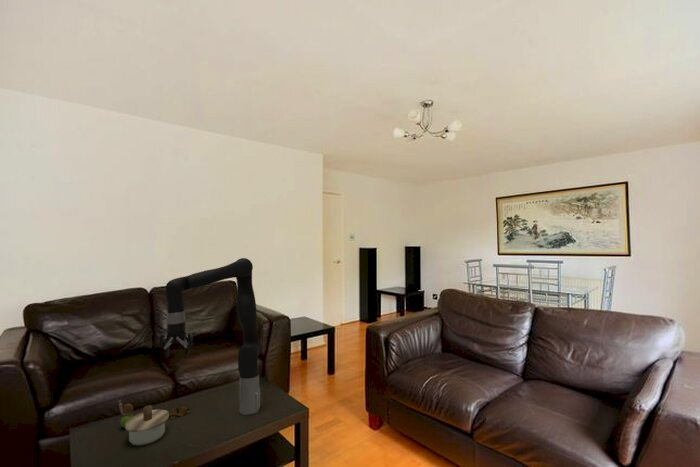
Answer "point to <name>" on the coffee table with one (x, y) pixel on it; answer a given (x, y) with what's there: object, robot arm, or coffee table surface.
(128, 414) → the snail figurine
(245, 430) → the coffee table surface
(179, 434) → the coffee table surface
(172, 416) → the lily flower
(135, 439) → the bowl
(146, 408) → the lid
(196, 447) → the coffee table surface
